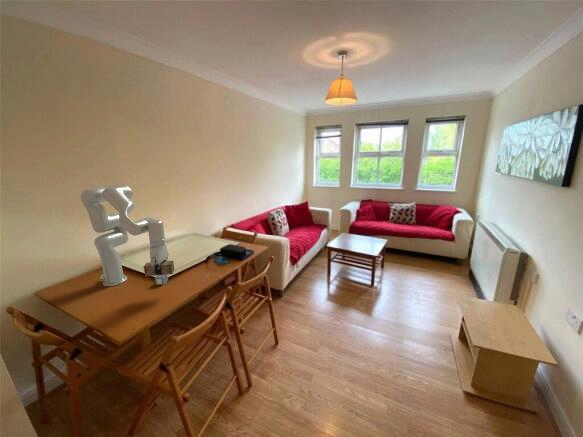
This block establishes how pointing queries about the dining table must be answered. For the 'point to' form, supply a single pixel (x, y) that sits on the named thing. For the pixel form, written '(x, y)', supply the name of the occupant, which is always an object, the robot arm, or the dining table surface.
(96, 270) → the dining table surface
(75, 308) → the dining table surface
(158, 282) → the marked cube
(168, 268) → the walnut screen
